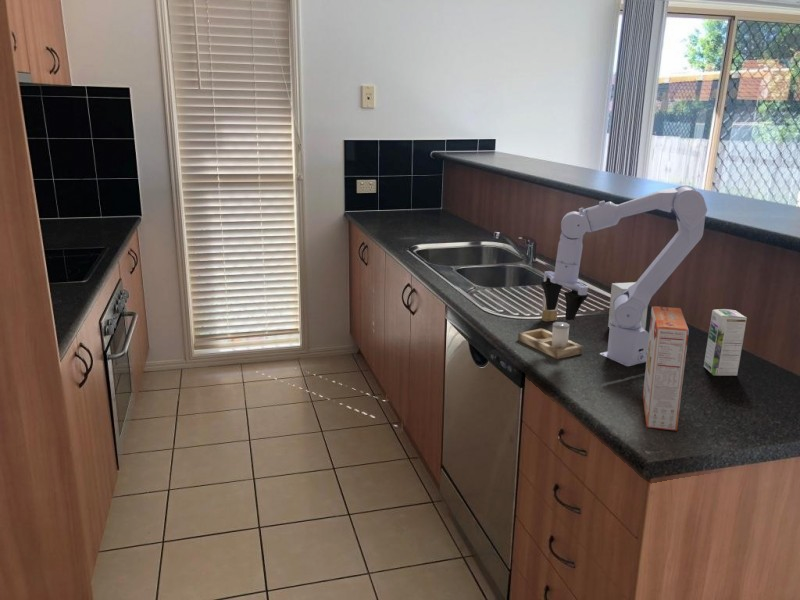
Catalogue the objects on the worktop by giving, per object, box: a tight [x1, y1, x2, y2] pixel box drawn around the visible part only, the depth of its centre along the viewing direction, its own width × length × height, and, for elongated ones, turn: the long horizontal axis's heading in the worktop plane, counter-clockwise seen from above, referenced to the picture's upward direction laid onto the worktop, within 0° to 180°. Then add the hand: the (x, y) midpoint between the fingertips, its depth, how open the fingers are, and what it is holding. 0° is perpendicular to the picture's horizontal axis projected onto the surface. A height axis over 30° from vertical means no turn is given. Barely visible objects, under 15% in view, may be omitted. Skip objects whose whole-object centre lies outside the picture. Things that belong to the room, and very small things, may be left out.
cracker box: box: [642, 305, 690, 432], centre depth 130 cm, size 14×6×21 cm, turn 163°
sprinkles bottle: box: [541, 278, 560, 322], centre depth 189 cm, size 5×5×14 cm
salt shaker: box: [551, 321, 571, 349], centre depth 164 cm, size 4×4×7 cm
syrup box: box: [703, 308, 748, 377], centre depth 152 cm, size 6×6×14 cm
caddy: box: [517, 328, 584, 360], centre depth 168 cm, size 16×8×2 cm, turn 28°
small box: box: [607, 281, 649, 331], centre depth 181 cm, size 8×6×13 cm
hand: (560, 314), depth 163 cm, fingers open, 7 cm apart
